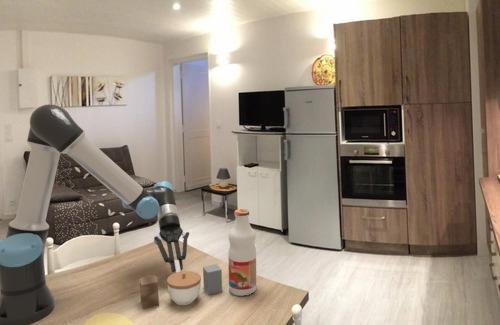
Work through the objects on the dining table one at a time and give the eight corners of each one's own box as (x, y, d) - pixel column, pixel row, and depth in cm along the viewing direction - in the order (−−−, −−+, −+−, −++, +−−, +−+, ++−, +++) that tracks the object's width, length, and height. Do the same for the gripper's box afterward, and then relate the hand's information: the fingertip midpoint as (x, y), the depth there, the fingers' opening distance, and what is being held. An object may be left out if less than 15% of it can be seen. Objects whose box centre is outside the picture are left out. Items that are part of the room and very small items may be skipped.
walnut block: (142, 309, 110) (141, 285, 109) (140, 301, 114) (139, 278, 113) (159, 305, 112) (157, 281, 111) (156, 298, 116) (155, 275, 115)
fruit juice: (261, 292, 120) (261, 212, 116) (237, 299, 115) (235, 216, 111) (247, 280, 128) (247, 205, 124) (224, 287, 123) (222, 209, 119)
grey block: (207, 295, 118) (207, 272, 117) (203, 288, 123) (203, 266, 122) (222, 292, 120) (221, 269, 119) (217, 285, 125) (216, 264, 123)
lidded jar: (207, 301, 114) (207, 273, 113) (178, 313, 107) (177, 284, 106) (190, 288, 122) (189, 263, 121) (161, 299, 115) (160, 272, 114)
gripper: (184, 221, 138) (196, 280, 126) (150, 226, 133) (158, 287, 121) (187, 212, 133) (199, 272, 120) (151, 216, 128) (160, 279, 115)
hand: (179, 279), depth 120 cm, fingers closed
